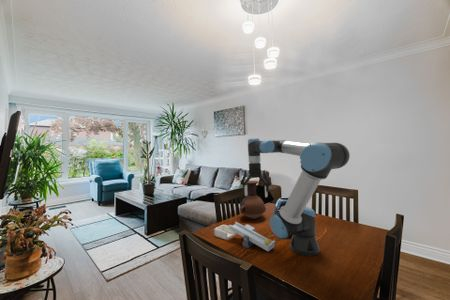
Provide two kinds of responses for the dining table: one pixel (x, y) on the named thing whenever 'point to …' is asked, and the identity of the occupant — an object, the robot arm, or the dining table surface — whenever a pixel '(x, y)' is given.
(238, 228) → the seesaw
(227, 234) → the dish
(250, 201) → the vase
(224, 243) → the dining table surface
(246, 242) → the trunnion stand
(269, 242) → the ball
